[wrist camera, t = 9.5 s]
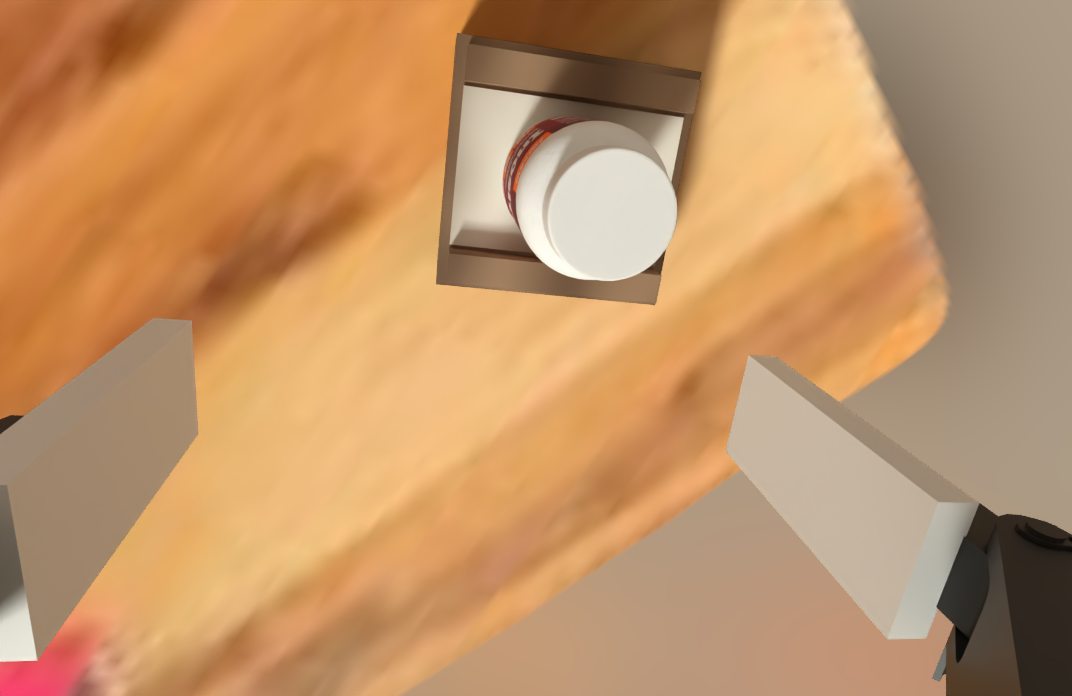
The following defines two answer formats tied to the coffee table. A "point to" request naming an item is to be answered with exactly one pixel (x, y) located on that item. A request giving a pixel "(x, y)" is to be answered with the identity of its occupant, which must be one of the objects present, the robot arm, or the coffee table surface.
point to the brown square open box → (504, 115)
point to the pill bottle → (590, 197)
